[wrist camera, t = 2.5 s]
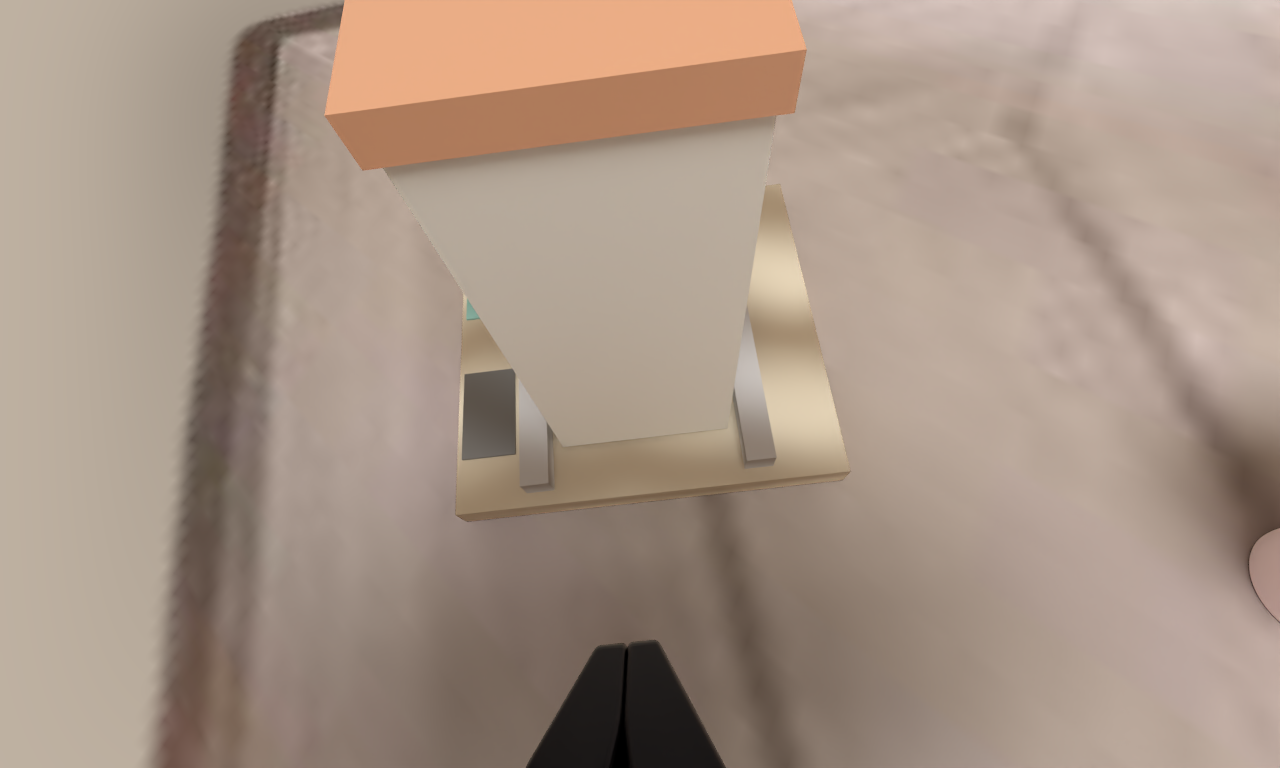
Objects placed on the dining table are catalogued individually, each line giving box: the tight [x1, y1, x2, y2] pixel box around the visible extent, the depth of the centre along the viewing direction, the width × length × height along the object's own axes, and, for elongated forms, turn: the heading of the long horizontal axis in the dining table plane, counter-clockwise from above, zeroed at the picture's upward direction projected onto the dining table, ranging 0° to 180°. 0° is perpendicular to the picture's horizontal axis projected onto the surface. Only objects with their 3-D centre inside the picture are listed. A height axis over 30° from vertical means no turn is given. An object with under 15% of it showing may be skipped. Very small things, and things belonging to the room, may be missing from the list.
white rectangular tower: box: [325, 0, 807, 447], centre depth 16 cm, size 4×6×15 cm
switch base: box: [455, 184, 850, 522], centre depth 23 cm, size 13×14×3 cm
